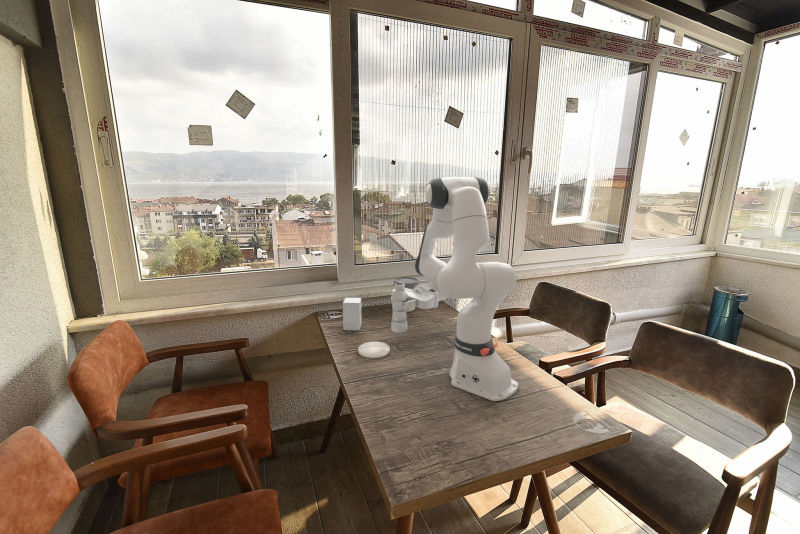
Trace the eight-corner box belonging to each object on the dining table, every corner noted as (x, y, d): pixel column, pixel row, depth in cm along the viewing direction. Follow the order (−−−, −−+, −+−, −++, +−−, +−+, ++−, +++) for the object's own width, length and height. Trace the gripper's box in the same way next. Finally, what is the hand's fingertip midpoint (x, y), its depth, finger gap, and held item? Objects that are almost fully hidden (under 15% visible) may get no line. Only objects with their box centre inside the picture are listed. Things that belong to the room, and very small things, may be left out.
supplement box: (359, 330, 161) (359, 303, 158) (342, 330, 161) (342, 302, 158) (362, 324, 168) (361, 297, 165) (345, 323, 168) (344, 297, 165)
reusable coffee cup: (396, 313, 181) (396, 284, 177) (391, 305, 193) (391, 277, 189) (421, 311, 184) (422, 282, 180) (414, 303, 196) (414, 276, 192)
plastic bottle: (390, 328, 153) (390, 281, 148) (407, 328, 153) (407, 281, 149) (391, 335, 147) (390, 286, 142) (408, 335, 147) (408, 286, 142)
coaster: (396, 351, 142) (396, 349, 142) (371, 361, 134) (371, 358, 134) (376, 341, 151) (376, 338, 151) (352, 350, 143) (351, 347, 143)
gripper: (405, 282, 162) (381, 288, 153) (441, 293, 147) (416, 300, 138) (405, 296, 164) (381, 303, 154) (440, 308, 149) (416, 316, 140)
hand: (398, 302), depth 146 cm, fingers closed on plastic bottle, 6 cm apart
